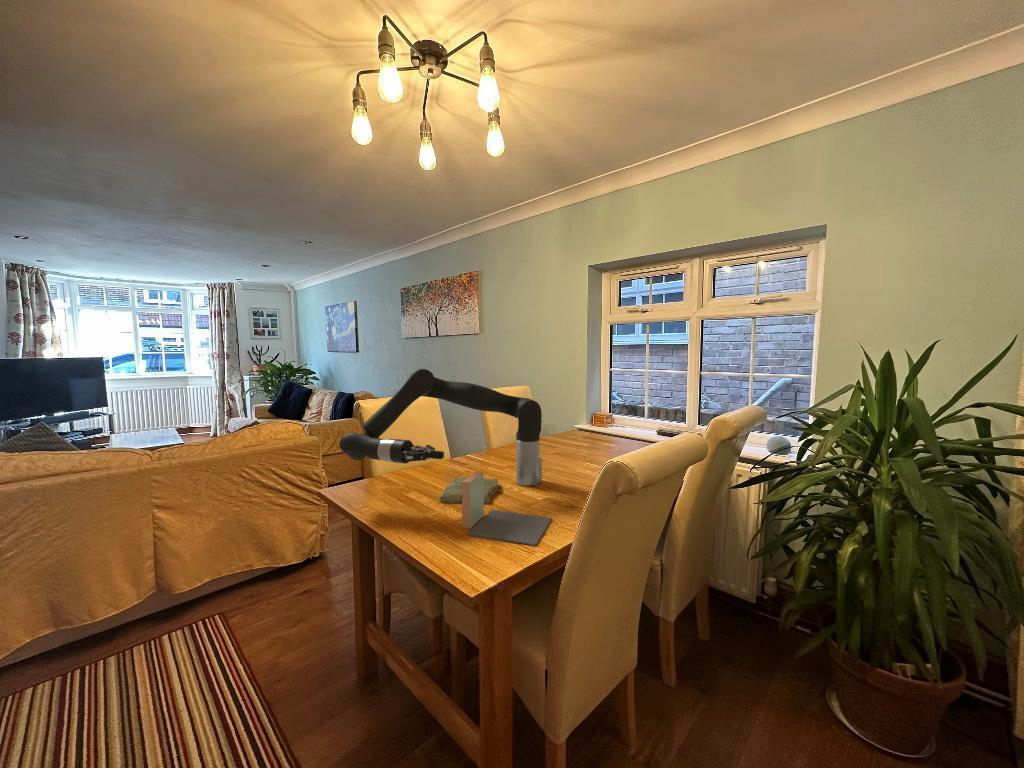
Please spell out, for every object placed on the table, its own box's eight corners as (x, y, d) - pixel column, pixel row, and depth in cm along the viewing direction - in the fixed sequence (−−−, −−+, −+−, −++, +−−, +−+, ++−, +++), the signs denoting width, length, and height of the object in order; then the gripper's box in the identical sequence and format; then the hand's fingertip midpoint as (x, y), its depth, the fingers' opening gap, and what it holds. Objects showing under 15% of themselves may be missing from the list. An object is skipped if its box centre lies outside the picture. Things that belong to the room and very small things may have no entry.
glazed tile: (462, 527, 119) (461, 481, 118) (476, 514, 129) (475, 471, 127) (470, 529, 118) (470, 482, 117) (484, 515, 128) (483, 472, 127)
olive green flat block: (439, 503, 139) (439, 493, 139) (453, 484, 159) (453, 475, 159) (492, 505, 137) (492, 495, 137) (500, 485, 157) (500, 476, 157)
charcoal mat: (467, 535, 114) (467, 533, 114) (491, 511, 131) (491, 509, 131) (535, 546, 108) (535, 544, 108) (551, 519, 124) (551, 517, 124)
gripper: (382, 443, 124) (431, 448, 119) (407, 435, 137) (452, 439, 131) (383, 467, 125) (432, 473, 119) (407, 457, 137) (453, 461, 132)
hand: (442, 455), depth 125 cm, fingers closed
